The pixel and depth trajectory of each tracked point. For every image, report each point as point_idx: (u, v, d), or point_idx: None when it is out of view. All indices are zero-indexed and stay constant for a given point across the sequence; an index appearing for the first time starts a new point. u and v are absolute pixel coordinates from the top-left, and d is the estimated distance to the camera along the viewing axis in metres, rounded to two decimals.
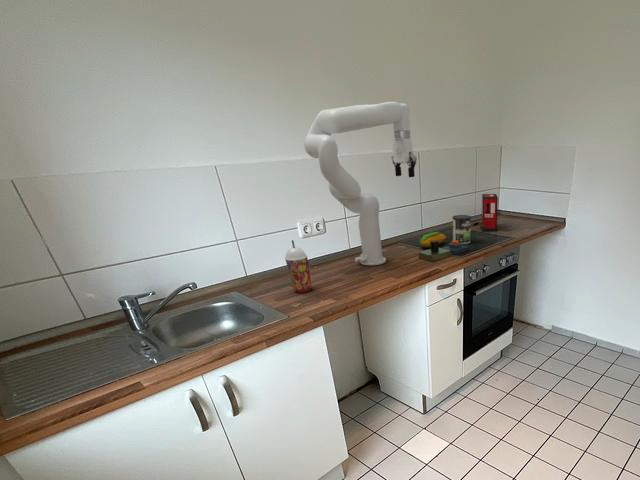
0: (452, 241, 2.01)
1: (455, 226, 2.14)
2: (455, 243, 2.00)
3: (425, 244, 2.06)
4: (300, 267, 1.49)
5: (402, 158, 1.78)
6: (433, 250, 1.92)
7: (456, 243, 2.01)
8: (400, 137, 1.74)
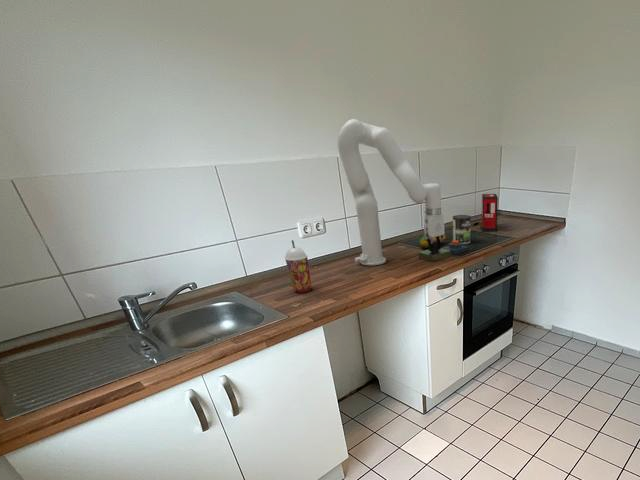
0: (452, 241, 2.01)
1: (455, 226, 2.14)
2: (455, 243, 2.00)
3: (425, 244, 2.06)
4: (300, 267, 1.49)
5: (441, 231, 1.88)
6: None
7: (456, 243, 2.01)
8: None
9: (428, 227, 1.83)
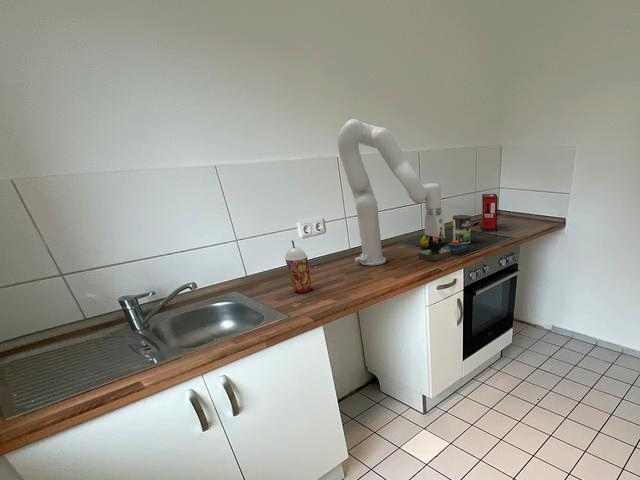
0: (452, 241, 2.01)
1: (455, 226, 2.14)
2: (455, 243, 2.00)
3: (425, 244, 2.06)
4: (300, 267, 1.49)
5: None
6: None
7: (456, 243, 2.01)
8: None
9: (443, 226, 1.85)
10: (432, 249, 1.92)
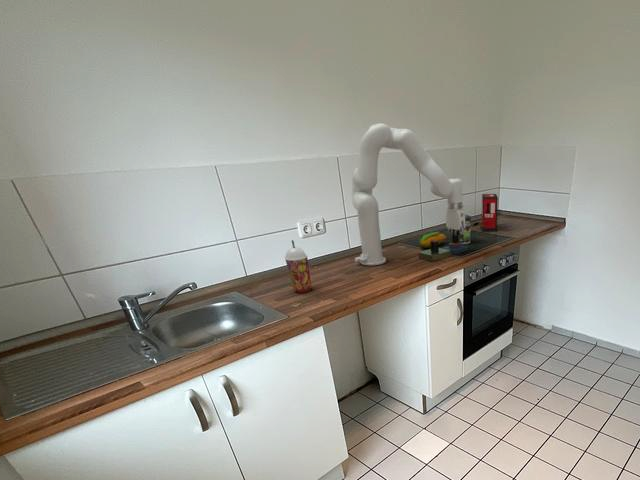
0: (452, 243, 2.01)
1: None
2: None
3: (425, 244, 2.06)
4: (300, 267, 1.49)
5: None
6: (438, 249, 1.93)
7: None
8: None
9: (464, 219, 1.94)
10: (432, 249, 1.92)
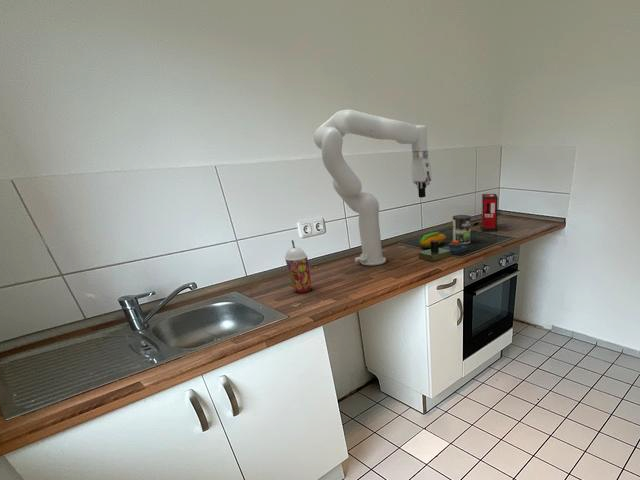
0: (452, 241, 2.01)
1: (455, 226, 2.14)
2: (455, 243, 2.00)
3: (425, 244, 2.06)
4: (300, 267, 1.49)
5: None
6: (438, 249, 1.93)
7: (456, 243, 2.01)
8: None
9: (430, 170, 1.83)
10: (432, 249, 1.92)
